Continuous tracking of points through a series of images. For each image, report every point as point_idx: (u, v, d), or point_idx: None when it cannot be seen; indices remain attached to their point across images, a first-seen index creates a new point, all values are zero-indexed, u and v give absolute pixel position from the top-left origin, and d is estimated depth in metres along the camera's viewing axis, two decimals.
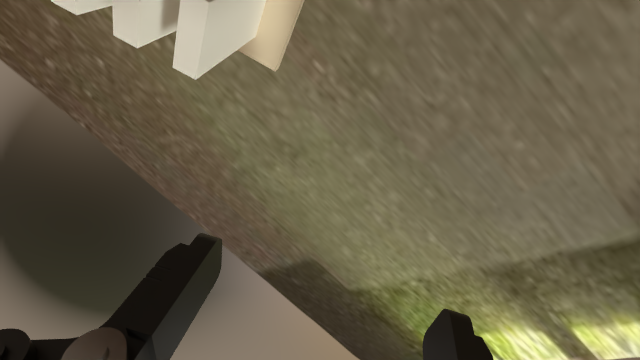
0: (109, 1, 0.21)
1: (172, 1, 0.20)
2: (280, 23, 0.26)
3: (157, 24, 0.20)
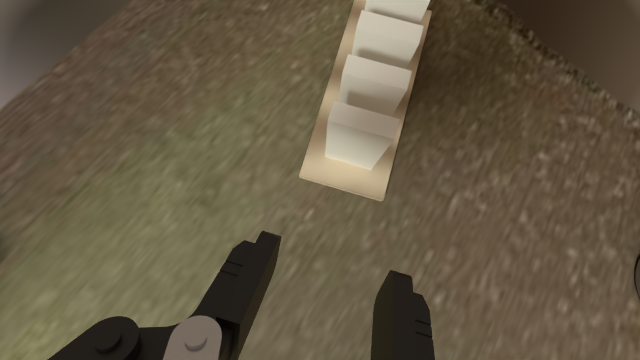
0: (355, 49, 0.26)
1: (365, 100, 0.26)
2: (340, 177, 0.32)
3: (353, 88, 0.25)
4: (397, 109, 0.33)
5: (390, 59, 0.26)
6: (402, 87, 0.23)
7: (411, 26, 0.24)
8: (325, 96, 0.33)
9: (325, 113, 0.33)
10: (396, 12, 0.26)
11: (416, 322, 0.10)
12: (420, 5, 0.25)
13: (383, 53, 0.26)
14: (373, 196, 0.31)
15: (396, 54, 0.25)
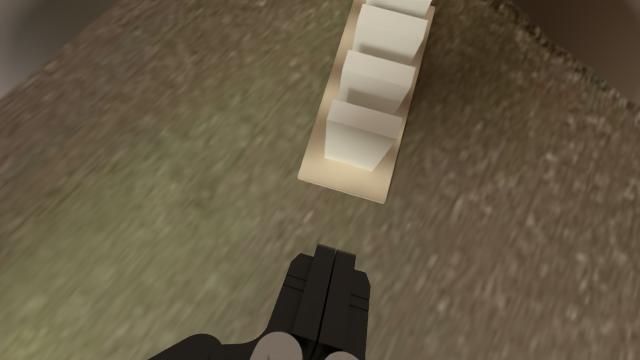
0: (356, 45, 0.25)
1: (366, 98, 0.25)
2: (340, 179, 0.31)
3: (354, 86, 0.24)
4: (399, 108, 0.32)
5: (392, 56, 0.25)
6: (406, 84, 0.22)
7: (415, 20, 0.23)
8: (325, 95, 0.32)
9: (325, 112, 0.32)
10: (398, 6, 0.25)
11: (355, 297, 0.10)
12: None
13: (385, 49, 0.25)
14: (374, 198, 0.30)
15: (399, 50, 0.24)
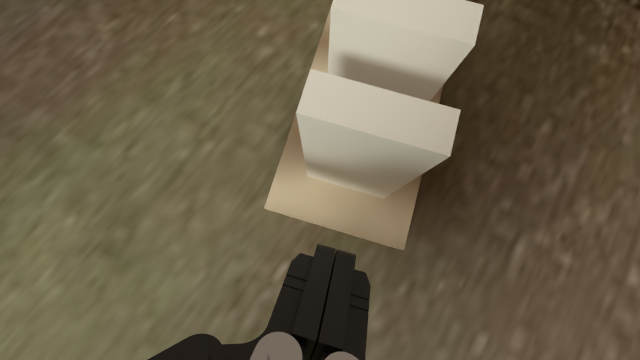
0: None
1: (377, 76, 0.14)
2: (332, 211, 0.19)
3: (355, 49, 0.12)
4: None
5: None
6: (465, 38, 0.10)
7: None
8: None
9: None
10: None
11: (355, 297, 0.10)
12: None
13: None
14: (387, 243, 0.19)
15: None
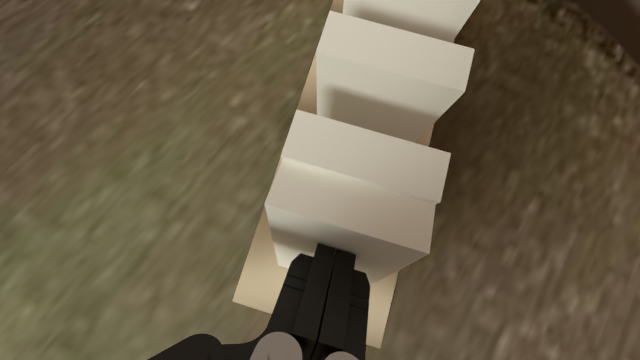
0: (323, 93, 0.13)
1: None
2: None
3: None
4: None
5: (395, 114, 0.13)
6: (429, 195, 0.09)
7: (445, 49, 0.10)
8: None
9: None
10: (406, 15, 0.13)
11: (355, 297, 0.10)
12: (462, 1, 0.11)
13: (380, 102, 0.12)
14: None
15: (408, 106, 0.12)
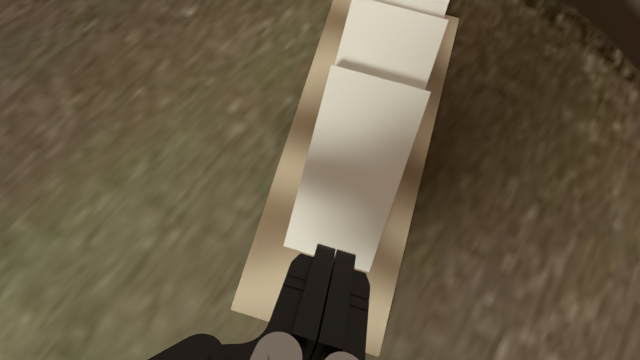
0: None
1: (376, 74, 0.16)
2: None
3: (362, 39, 0.16)
4: (403, 186, 0.19)
5: (416, 8, 0.17)
6: (441, 18, 0.16)
7: None
8: (281, 163, 0.20)
9: (280, 193, 0.19)
10: None
11: (355, 297, 0.10)
12: None
13: None
14: None
15: None
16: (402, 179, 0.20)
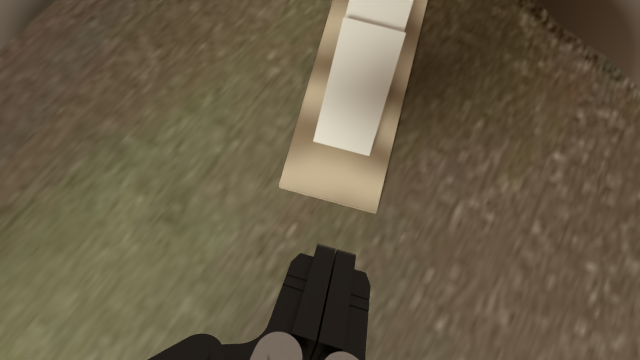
0: None
1: None
2: (326, 187, 0.27)
3: (362, 1, 0.25)
4: (391, 106, 0.28)
5: None
6: None
7: None
8: (307, 92, 0.29)
9: (308, 111, 0.28)
10: None
11: (355, 297, 0.10)
12: None
13: None
14: (364, 208, 0.27)
15: None
16: (390, 101, 0.29)
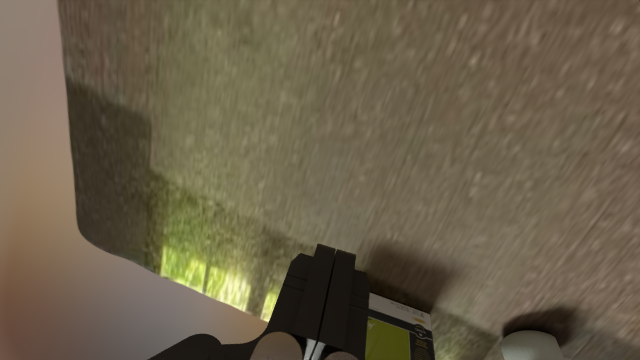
0: None
1: None
2: None
3: None
4: None
5: None
6: None
7: None
8: None
9: None
10: None
11: (355, 297, 0.10)
12: None
13: None
14: None
15: None
16: None
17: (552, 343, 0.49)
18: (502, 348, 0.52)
